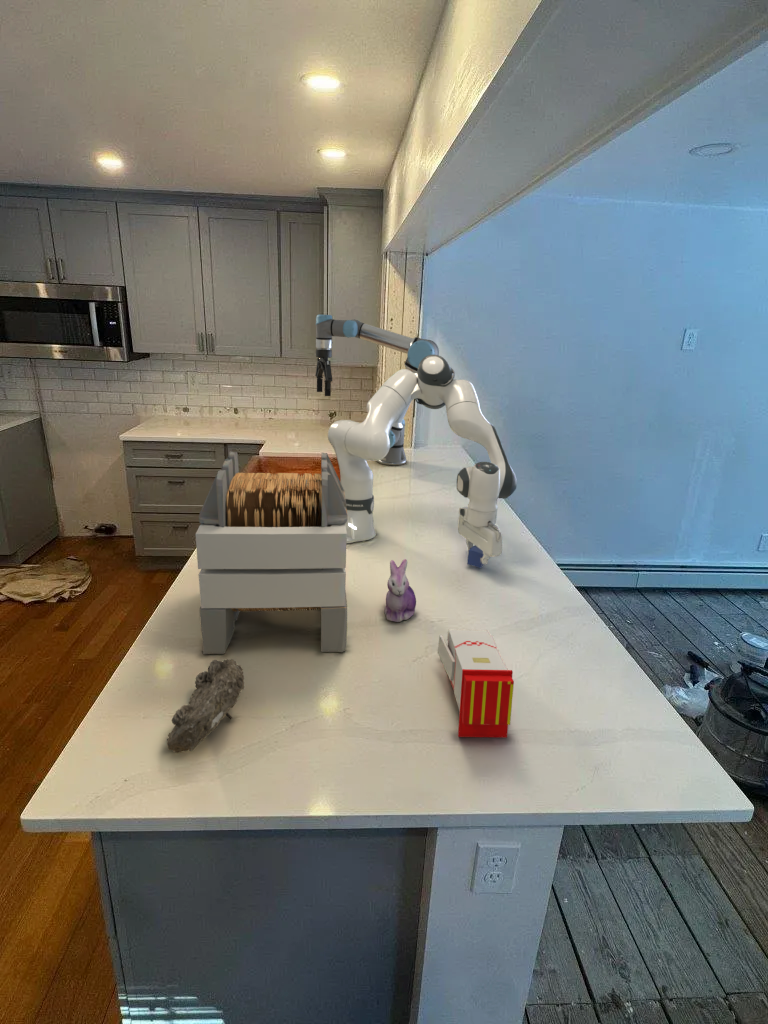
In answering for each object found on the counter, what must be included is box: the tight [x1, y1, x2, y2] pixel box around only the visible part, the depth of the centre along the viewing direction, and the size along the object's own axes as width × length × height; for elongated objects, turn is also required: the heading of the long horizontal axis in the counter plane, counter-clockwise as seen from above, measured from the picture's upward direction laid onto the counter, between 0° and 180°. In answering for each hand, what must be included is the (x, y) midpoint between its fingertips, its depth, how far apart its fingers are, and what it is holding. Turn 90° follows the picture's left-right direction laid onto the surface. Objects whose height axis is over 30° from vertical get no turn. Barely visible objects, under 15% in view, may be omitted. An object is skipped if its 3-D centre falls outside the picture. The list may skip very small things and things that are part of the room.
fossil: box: [166, 658, 245, 754], centre depth 106 cm, size 22×10×15 cm
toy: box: [437, 628, 515, 738], centre depth 117 cm, size 12×13×30 cm
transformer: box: [195, 450, 348, 656], centre depth 137 cm, size 34×33×41 cm
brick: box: [466, 544, 486, 569], centre depth 176 cm, size 4×5×5 cm
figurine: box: [384, 558, 417, 623], centre depth 145 cm, size 9×10×15 cm
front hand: (477, 558), depth 176 cm, fingers closed on brick, 6 cm apart
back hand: (323, 394), depth 277 cm, fingers open, 13 cm apart
